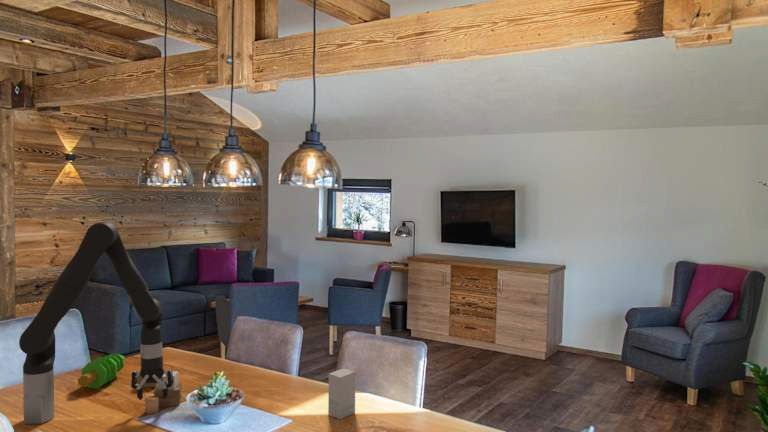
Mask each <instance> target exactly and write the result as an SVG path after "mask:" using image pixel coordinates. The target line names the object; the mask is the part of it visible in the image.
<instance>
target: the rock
mask: <svg viewBox="0 0 768 432" xmlns="http://www.w3.org/2000/svg"><path fill="white" fill-rule="evenodd" d="M139 371H141V369H140V370H139ZM142 380H143V378H142V377H141V376H140V375H139V376H138V377H137V384H140V382H141V381H142ZM156 384H158V382H157V383H147V382H145V383H144V385H143V386H142V388H143V389H146V388H147V389H148V388H155V387H156Z"/></svg>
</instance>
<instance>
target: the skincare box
mask: <svg viewBox="0 0 768 432" xmlns="http://www.w3.org/2000/svg"><path fill="white" fill-rule="evenodd" d="M327 403H328V411H327V413H328V416H329V417H330V416H331V417H333V418H335V417H336V419H339V420H342V419H344V418H346V417H348V416H351V415H353V414H355V413H356V371H355V370H350V369H347V368H344V367H343V368H340V369H338V370H335V371H332V372H330V373H328V402H327Z"/></svg>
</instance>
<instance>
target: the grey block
mask: <svg viewBox="0 0 768 432" xmlns="http://www.w3.org/2000/svg"><path fill="white" fill-rule="evenodd" d="M172 372H173V383H174V384H173V385H172V387H169V388H168V389H175V388H176V386H177V385H178V382H179V371H177V370H176V371H174V370H172ZM162 377H163V378H164V379H165V381H166V382H167V383H168V377H167V376H166V375H165V374H164V375H163V376H162ZM163 389H164V388H163V387H162V386H161V385H160V384H159V383H158V390H163Z"/></svg>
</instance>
